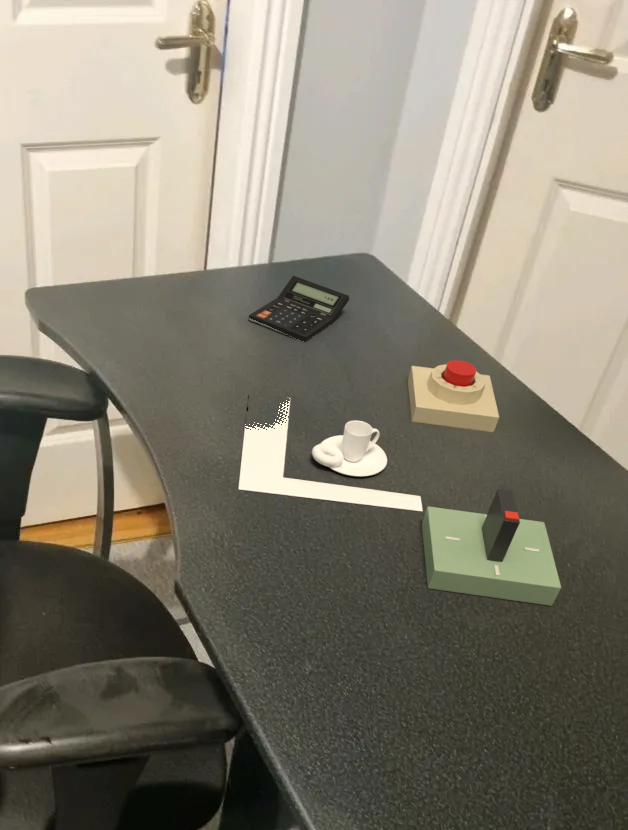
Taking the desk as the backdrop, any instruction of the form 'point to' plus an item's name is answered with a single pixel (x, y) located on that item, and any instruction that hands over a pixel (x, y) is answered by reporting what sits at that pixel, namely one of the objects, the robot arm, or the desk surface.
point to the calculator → (302, 309)
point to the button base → (451, 400)
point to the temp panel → (471, 571)
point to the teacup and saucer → (337, 452)
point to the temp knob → (500, 525)
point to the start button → (459, 373)
